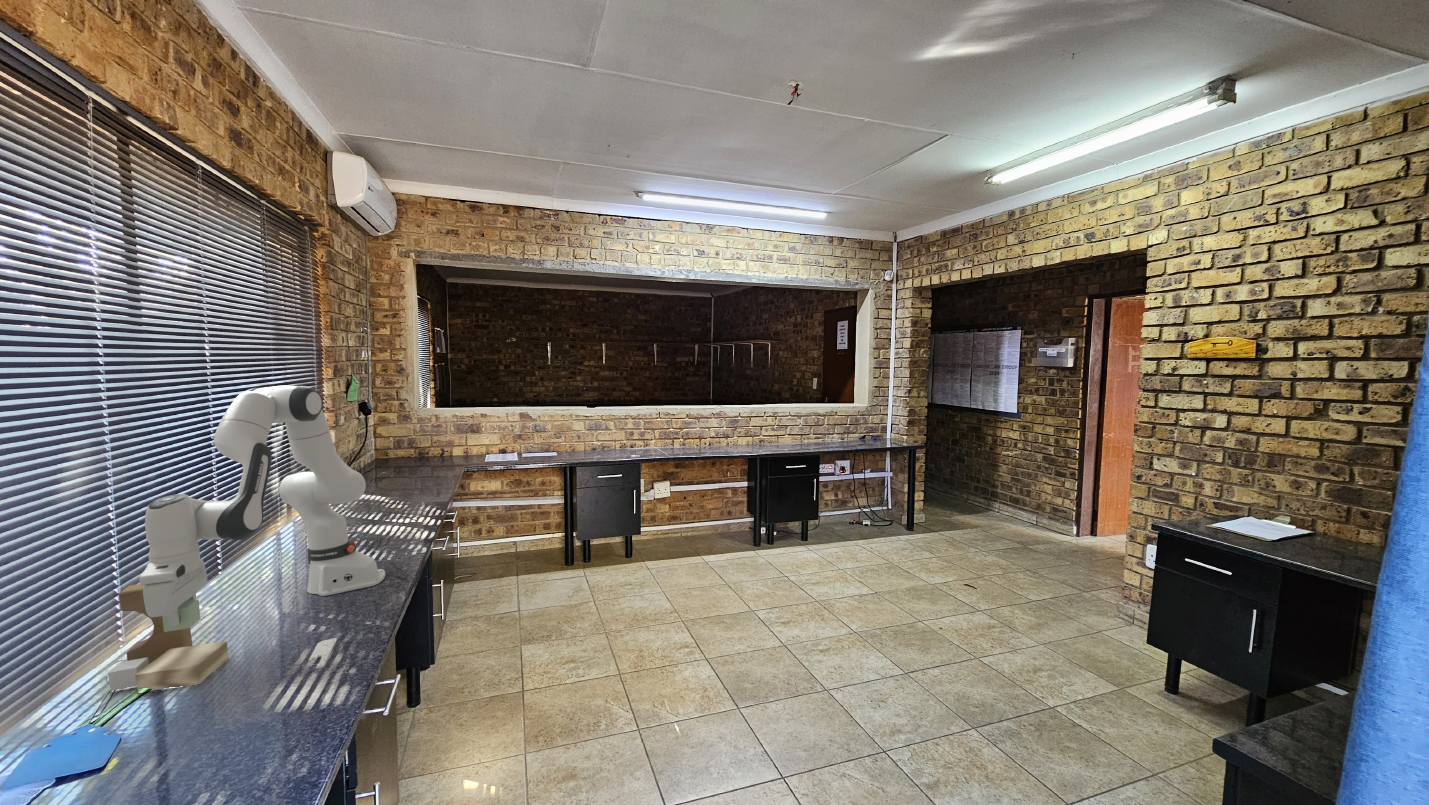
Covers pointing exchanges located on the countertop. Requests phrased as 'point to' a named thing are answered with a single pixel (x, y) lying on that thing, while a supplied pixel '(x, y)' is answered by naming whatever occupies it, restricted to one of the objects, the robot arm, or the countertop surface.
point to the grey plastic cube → (126, 673)
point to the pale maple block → (182, 666)
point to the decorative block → (159, 639)
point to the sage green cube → (185, 616)
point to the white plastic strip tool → (323, 651)
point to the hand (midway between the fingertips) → (182, 619)
